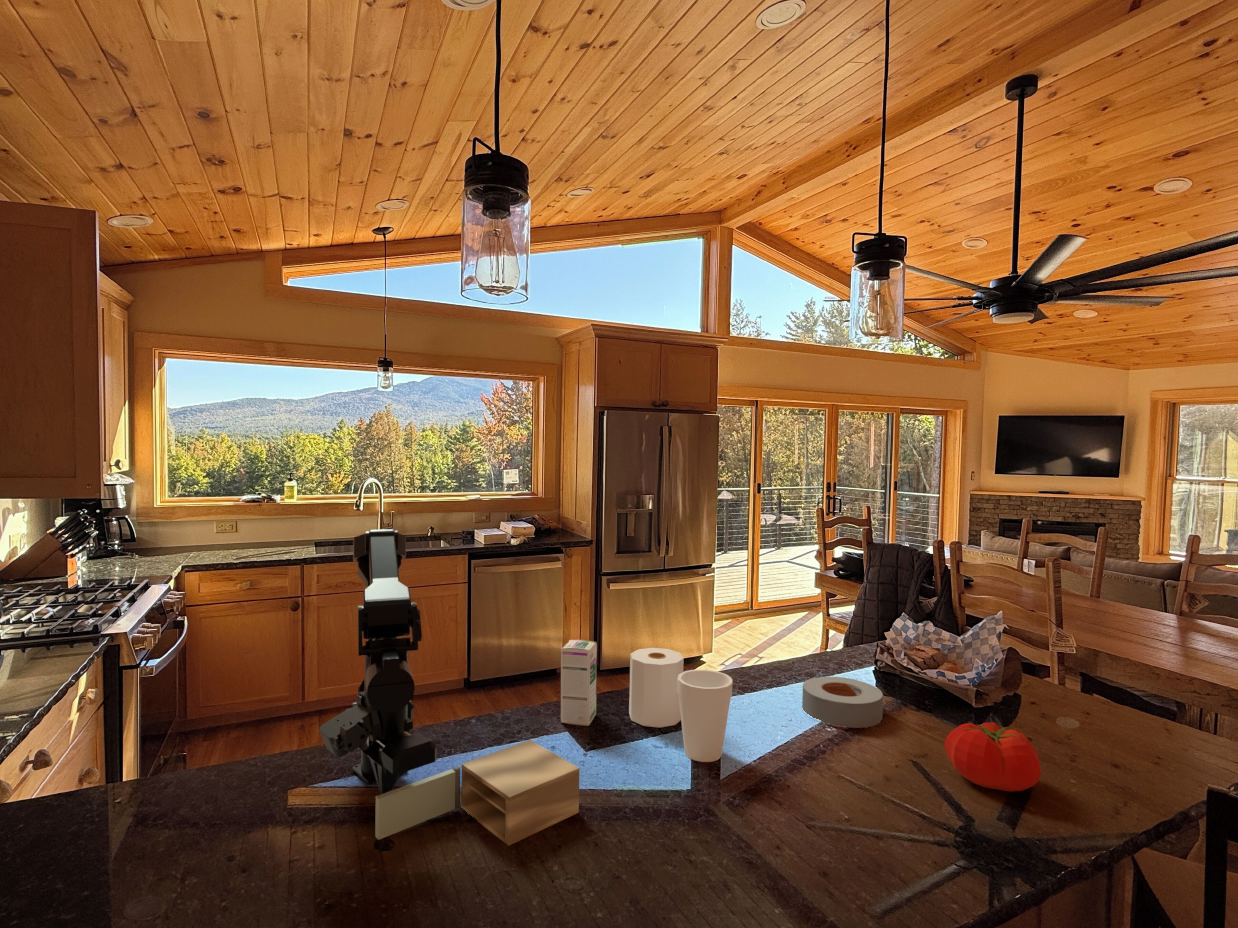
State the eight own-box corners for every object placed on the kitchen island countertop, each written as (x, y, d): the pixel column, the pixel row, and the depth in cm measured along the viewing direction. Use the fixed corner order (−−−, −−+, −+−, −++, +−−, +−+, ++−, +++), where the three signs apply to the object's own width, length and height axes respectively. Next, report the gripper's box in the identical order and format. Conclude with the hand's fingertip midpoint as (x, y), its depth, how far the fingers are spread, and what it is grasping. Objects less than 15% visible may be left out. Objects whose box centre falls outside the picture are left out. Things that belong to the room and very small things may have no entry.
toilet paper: (618, 718, 130) (620, 656, 129) (647, 702, 138) (649, 643, 138) (663, 732, 124) (665, 667, 123) (691, 714, 132) (692, 653, 132)
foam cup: (668, 759, 113) (670, 683, 113) (684, 737, 122) (685, 666, 122) (723, 770, 110) (726, 692, 109) (736, 747, 118) (738, 674, 118)
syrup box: (589, 726, 126) (591, 649, 125) (559, 723, 127) (560, 646, 126) (596, 714, 131) (598, 640, 131) (567, 711, 133) (569, 638, 132)
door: (457, 803, 97) (457, 765, 97) (461, 806, 96) (461, 768, 96) (375, 836, 89) (375, 795, 89) (378, 840, 88) (378, 798, 88)
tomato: (1051, 782, 108) (1053, 728, 108) (1033, 813, 99) (1035, 754, 99) (958, 754, 118) (960, 704, 118) (934, 779, 109) (936, 725, 108)
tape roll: (790, 699, 142) (791, 675, 142) (860, 698, 143) (860, 674, 143) (820, 731, 127) (821, 704, 126) (897, 728, 128) (898, 702, 128)
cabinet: (461, 808, 97) (461, 763, 97) (529, 780, 105) (529, 739, 105) (508, 845, 88) (509, 796, 88) (578, 812, 97) (579, 767, 96)
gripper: (302, 680, 95) (301, 788, 96) (356, 721, 82) (355, 847, 82) (378, 663, 103) (377, 763, 103) (439, 699, 89) (438, 814, 90)
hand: (385, 794), depth 95 cm, fingers closed
